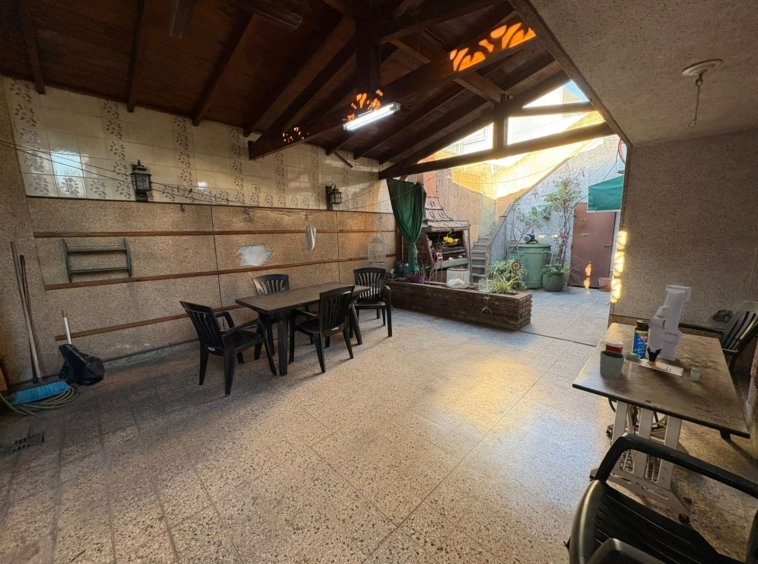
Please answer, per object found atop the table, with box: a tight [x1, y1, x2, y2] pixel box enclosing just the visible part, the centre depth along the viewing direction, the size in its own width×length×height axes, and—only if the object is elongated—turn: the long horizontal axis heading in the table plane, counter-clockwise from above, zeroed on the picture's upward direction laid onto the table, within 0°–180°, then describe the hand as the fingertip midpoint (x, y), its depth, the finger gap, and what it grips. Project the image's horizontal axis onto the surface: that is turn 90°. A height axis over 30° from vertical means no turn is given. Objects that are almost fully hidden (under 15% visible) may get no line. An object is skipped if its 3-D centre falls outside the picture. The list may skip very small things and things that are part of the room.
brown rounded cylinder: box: [647, 357, 658, 366], centre depth 163 cm, size 3×3×6 cm
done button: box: [628, 352, 638, 358], centre depth 170 cm, size 4×4×2 cm
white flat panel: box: [624, 358, 684, 378], centre depth 164 cm, size 12×24×1 cm, turn 41°
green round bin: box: [599, 350, 626, 380], centre depth 153 cm, size 10×10×12 cm
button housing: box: [624, 352, 642, 363], centre depth 170 cm, size 6×6×2 cm
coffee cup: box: [604, 339, 625, 355], centre depth 161 cm, size 8×8×15 cm
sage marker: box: [689, 367, 702, 383], centre depth 147 cm, size 3×3×6 cm
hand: (652, 360), depth 163 cm, fingers closed on brown rounded cylinder, 3 cm apart
